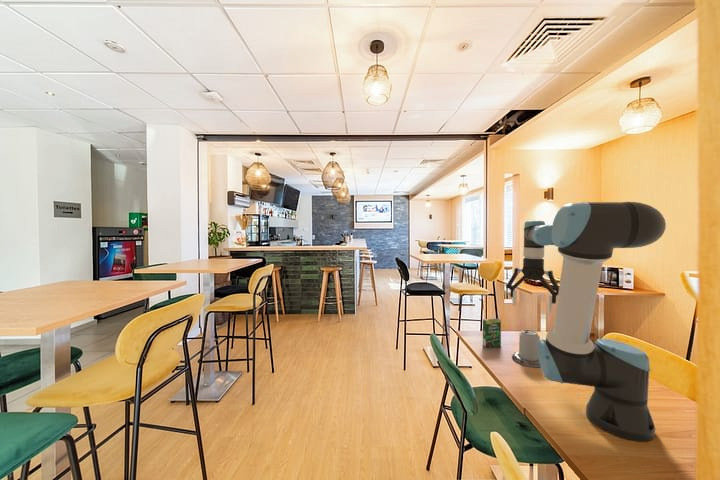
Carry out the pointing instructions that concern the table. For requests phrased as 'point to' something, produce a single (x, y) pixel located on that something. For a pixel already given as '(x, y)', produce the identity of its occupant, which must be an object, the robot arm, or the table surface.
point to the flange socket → (525, 361)
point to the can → (528, 345)
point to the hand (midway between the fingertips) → (532, 308)
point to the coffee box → (491, 333)
